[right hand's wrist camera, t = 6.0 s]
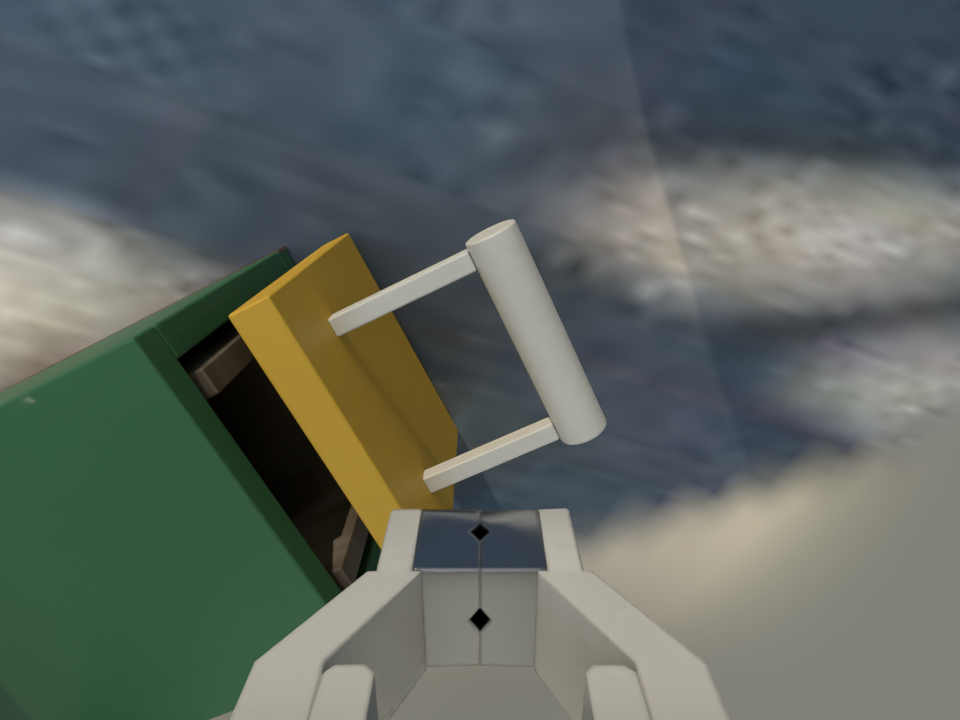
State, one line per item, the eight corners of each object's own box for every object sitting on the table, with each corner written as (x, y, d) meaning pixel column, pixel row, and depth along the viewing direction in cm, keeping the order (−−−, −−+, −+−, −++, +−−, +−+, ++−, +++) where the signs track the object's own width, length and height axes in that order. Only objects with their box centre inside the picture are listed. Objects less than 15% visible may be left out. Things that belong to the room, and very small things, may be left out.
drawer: (489, 161, 23) (496, 180, 14) (586, 374, 26) (645, 507, 17) (70, 373, 26) (-154, 506, 17) (202, 542, 29) (74, 733, 20)
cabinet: (284, 246, 25) (132, 336, 14) (409, 455, 28) (366, 660, 17) (-1, 392, 27) (-326, 569, 16) (148, 569, 30) (-37, 815, 20)
